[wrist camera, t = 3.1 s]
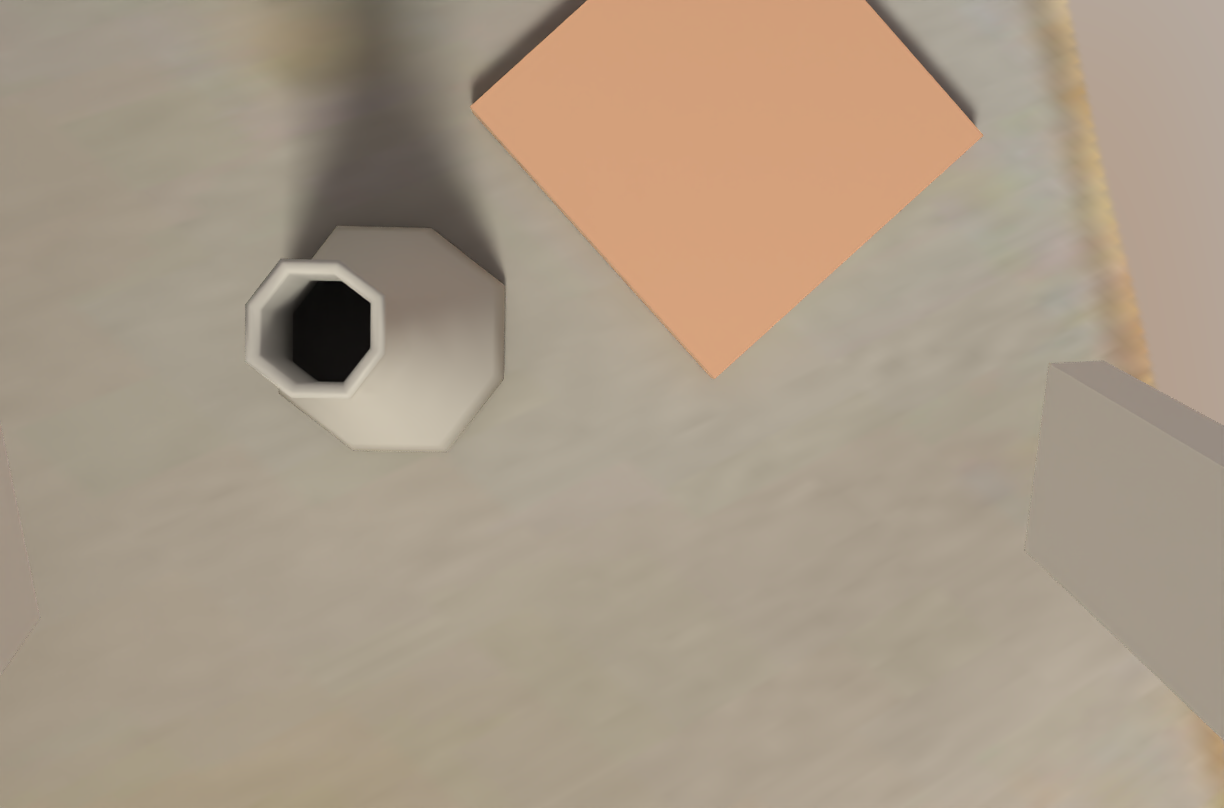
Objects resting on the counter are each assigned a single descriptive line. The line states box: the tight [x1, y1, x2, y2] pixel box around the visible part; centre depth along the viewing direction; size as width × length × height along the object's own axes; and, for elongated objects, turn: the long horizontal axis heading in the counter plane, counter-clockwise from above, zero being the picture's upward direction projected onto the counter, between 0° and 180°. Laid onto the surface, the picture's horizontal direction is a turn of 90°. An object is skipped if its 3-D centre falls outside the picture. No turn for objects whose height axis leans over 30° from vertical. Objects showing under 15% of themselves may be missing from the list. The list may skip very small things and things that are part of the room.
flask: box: [245, 226, 505, 452], centre depth 29 cm, size 7×7×10 cm
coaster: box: [470, 0, 983, 379], centre depth 34 cm, size 11×11×1 cm
